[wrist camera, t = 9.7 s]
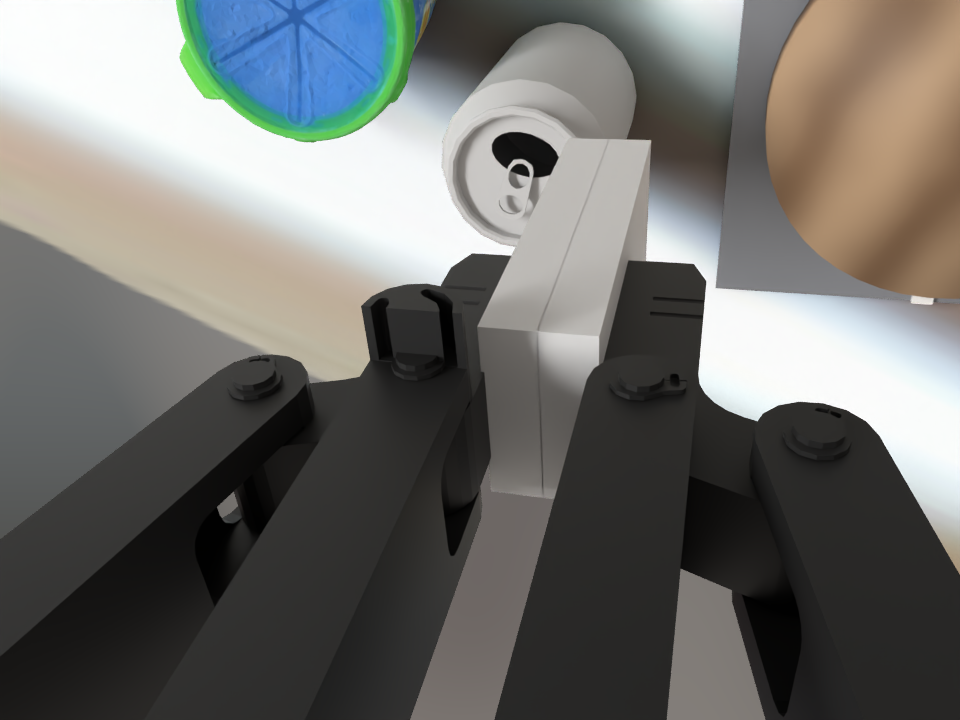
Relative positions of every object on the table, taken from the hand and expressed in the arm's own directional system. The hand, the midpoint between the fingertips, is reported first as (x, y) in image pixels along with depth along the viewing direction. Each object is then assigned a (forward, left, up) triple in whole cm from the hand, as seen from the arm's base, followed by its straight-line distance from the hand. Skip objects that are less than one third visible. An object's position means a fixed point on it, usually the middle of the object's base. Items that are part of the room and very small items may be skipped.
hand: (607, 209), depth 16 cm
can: (+7, -6, -30) cm, 31 cm away
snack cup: (+1, -16, -30) cm, 34 cm away
